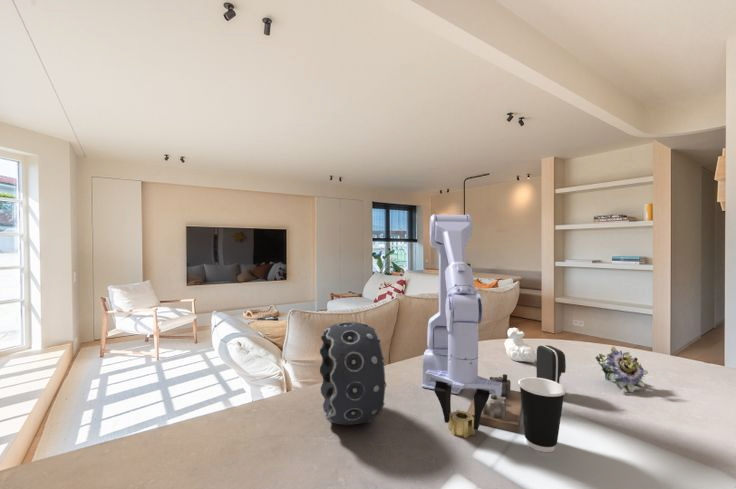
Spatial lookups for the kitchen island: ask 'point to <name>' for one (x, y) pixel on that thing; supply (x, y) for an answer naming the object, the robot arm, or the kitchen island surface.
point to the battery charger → (550, 363)
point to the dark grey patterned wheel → (352, 373)
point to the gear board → (501, 408)
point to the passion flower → (622, 369)
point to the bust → (518, 347)
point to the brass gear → (461, 423)
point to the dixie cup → (541, 411)
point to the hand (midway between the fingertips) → (461, 423)
